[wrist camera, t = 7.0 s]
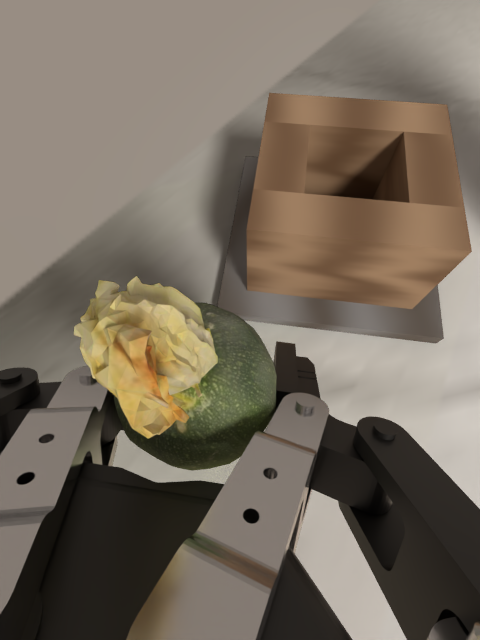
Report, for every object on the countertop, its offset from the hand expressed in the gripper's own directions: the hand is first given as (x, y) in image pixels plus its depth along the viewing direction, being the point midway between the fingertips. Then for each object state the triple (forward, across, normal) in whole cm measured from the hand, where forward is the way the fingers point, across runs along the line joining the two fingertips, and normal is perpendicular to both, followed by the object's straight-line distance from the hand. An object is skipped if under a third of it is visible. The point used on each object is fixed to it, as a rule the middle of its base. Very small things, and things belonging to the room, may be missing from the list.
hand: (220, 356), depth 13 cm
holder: (+17, -6, -3) cm, 18 cm away
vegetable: (+6, 0, +9) cm, 10 cm away
